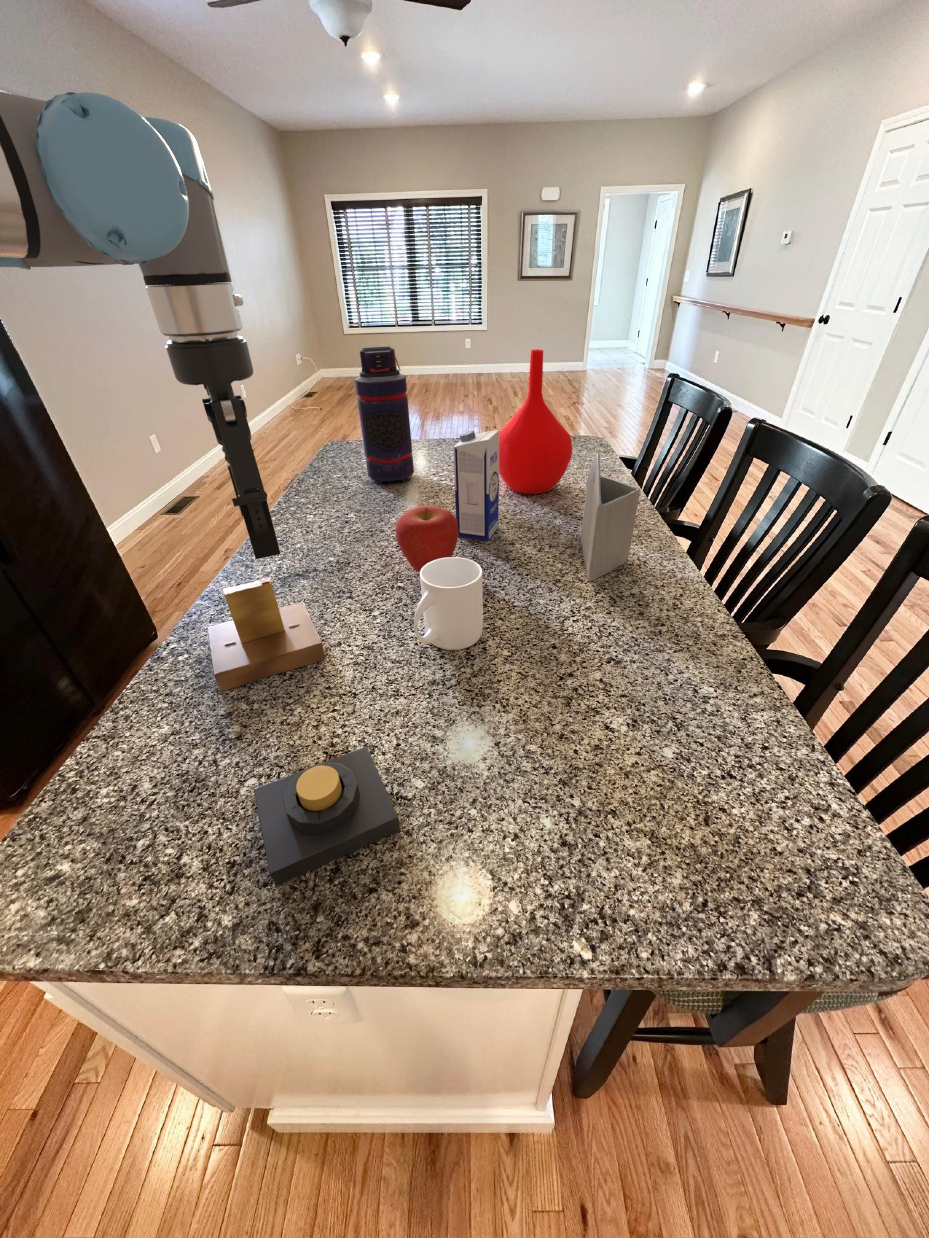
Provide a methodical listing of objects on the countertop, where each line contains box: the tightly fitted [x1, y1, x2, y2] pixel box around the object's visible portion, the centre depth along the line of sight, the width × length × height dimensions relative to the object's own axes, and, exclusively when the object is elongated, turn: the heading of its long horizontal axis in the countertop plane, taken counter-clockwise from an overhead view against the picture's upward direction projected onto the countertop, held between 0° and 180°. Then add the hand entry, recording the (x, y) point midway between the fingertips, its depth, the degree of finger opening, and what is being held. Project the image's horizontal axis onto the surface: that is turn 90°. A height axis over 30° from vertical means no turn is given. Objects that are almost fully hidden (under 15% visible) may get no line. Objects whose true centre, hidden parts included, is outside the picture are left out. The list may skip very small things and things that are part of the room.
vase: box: [499, 348, 573, 495], centre depth 117 cm, size 18×18×30 cm
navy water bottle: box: [354, 346, 415, 485], centre depth 126 cm, size 14×12×30 cm
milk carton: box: [452, 429, 500, 542], centre depth 99 cm, size 7×7×20 cm
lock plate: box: [206, 601, 326, 692], centre depth 74 cm, size 14×12×3 cm
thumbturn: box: [222, 576, 285, 643], centre depth 70 cm, size 6×2×8 cm, turn 117°
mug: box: [413, 556, 484, 651], centre depth 72 cm, size 9×12×11 cm
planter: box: [579, 452, 641, 582], centre depth 89 cm, size 16×8×19 cm, turn 174°
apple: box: [394, 505, 459, 573], centre depth 89 cm, size 11×11×12 cm
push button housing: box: [253, 746, 401, 887], centre depth 51 cm, size 12×10×4 cm
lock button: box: [296, 766, 342, 811], centre depth 49 cm, size 4×4×2 cm
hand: (259, 532), depth 63 cm, fingers open, 13 cm apart
